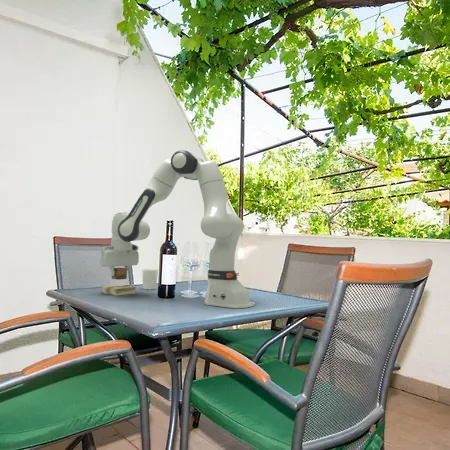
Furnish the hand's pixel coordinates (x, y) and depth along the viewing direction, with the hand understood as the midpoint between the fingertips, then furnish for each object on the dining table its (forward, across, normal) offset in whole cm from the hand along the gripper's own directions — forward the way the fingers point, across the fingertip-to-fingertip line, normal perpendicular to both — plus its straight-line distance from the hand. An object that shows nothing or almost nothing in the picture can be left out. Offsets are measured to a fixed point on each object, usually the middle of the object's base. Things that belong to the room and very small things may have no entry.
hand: (119, 275), depth 202 cm
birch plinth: (+8, 0, 0) cm, 8 cm away
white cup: (+9, +21, +2) cm, 23 cm away
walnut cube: (+2, 0, 0) cm, 2 cm away
